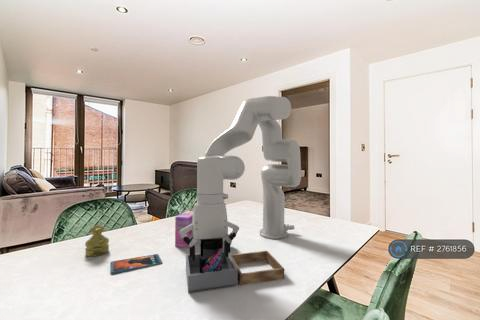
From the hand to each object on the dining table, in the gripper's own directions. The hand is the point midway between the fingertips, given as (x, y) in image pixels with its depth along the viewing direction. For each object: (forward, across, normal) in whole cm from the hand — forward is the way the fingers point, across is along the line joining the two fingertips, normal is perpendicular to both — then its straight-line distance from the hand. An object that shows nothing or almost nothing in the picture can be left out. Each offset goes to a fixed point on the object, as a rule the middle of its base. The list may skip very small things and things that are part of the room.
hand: (210, 257), depth 69 cm
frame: (+6, -14, 0) cm, 15 cm away
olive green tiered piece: (+6, +37, -28) cm, 47 cm away
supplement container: (+5, 0, 0) cm, 5 cm away
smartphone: (+6, +22, -14) cm, 27 cm away
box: (+6, +5, -30) cm, 31 cm away
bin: (+6, 0, 0) cm, 6 cm away
